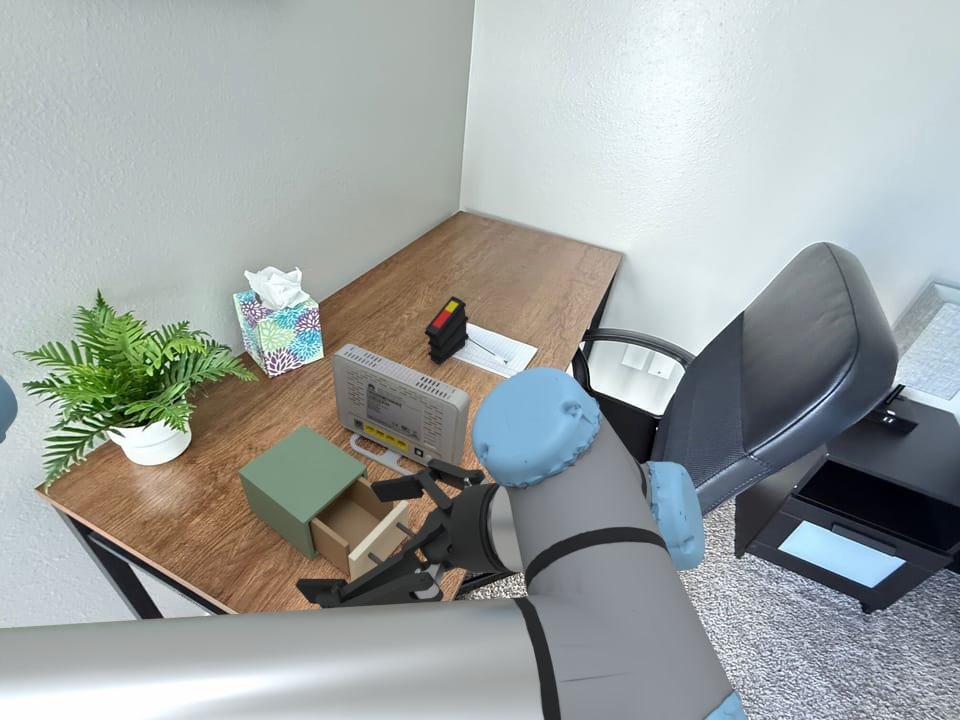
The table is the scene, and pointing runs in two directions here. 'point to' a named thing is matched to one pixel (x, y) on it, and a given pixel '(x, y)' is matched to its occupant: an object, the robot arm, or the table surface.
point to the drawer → (359, 529)
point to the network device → (398, 409)
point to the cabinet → (298, 484)
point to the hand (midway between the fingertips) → (344, 536)
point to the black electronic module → (447, 330)
